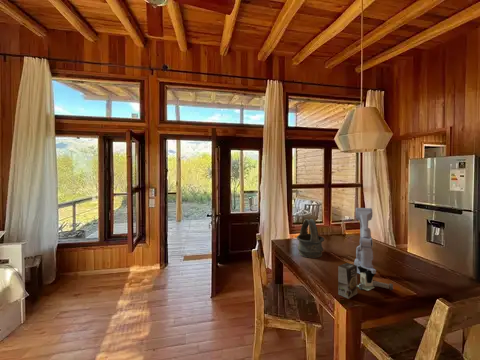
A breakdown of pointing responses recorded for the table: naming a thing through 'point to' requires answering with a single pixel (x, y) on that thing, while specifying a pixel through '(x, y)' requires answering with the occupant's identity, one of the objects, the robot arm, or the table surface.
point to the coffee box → (347, 280)
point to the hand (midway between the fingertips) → (366, 280)
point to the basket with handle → (310, 240)
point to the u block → (365, 279)
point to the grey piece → (375, 283)
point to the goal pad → (367, 287)
